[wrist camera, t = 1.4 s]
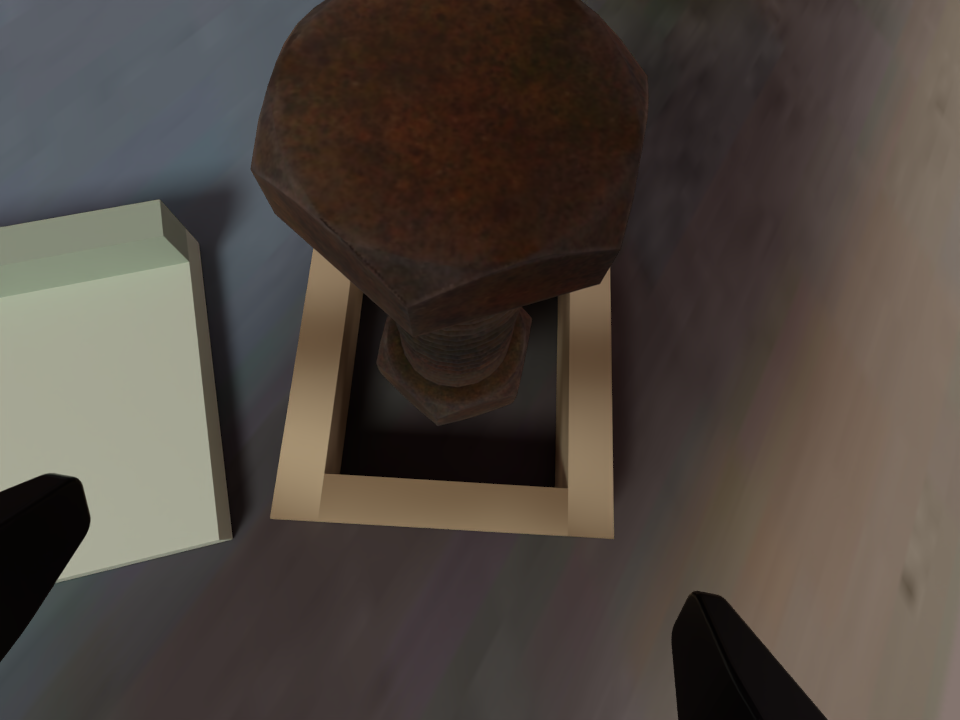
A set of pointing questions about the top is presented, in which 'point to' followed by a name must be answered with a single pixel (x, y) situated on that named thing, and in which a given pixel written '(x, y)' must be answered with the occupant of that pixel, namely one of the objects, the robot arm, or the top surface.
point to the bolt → (455, 173)
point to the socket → (446, 504)
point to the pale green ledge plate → (113, 379)
